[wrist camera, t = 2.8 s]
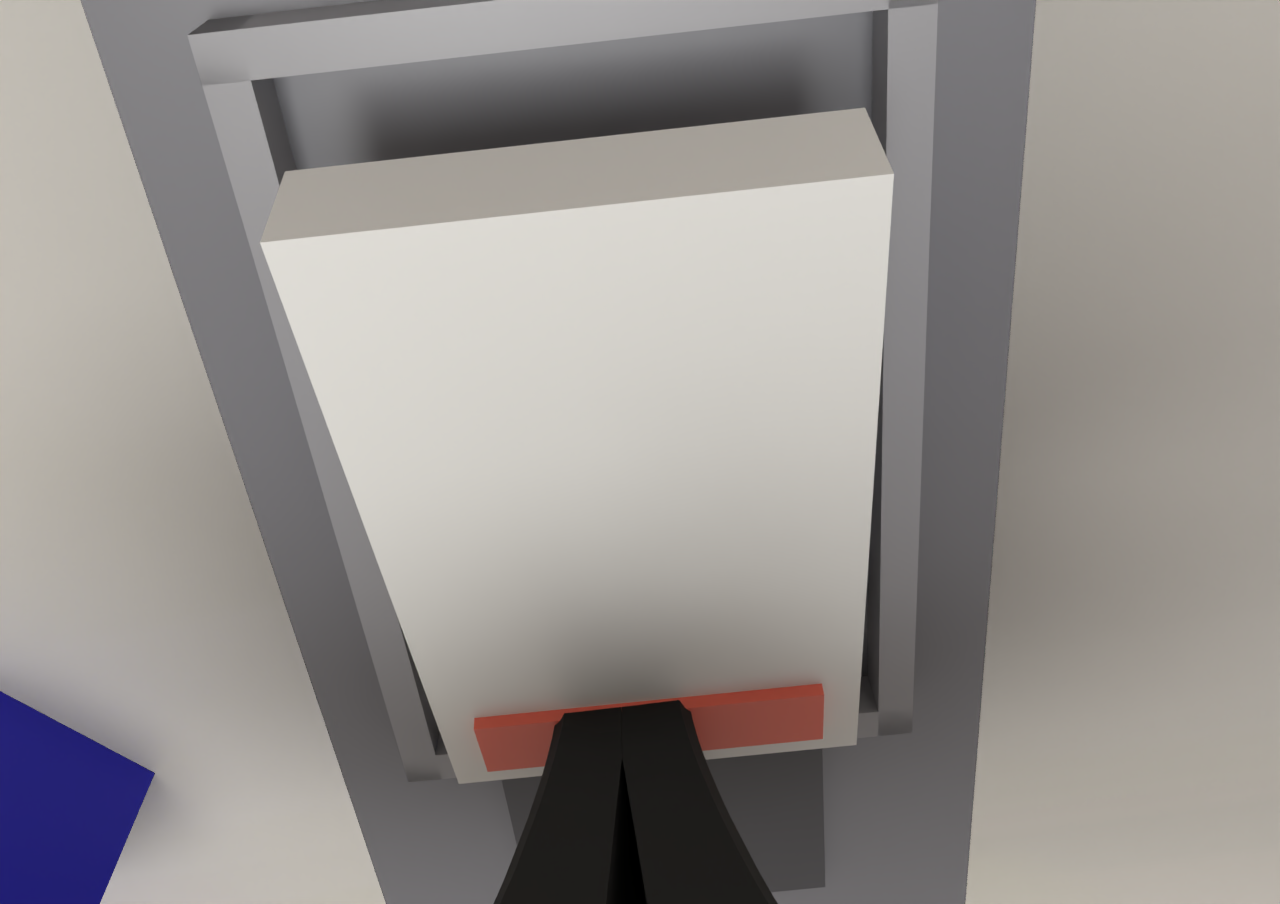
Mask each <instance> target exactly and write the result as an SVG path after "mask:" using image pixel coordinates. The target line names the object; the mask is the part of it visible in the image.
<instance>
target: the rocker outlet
mask: <svg viewBox="0 0 1280 904" xmlns="http://www.w3.org/2000/svg"><path fill="white" fill-rule="evenodd" d="M893 181H894V173H893V170H892V168H891V166H890V163H889V161H888V159H887V157H886V154H885V152H884V150H883V148H882V145H881V143H880V141H879V138H878V136H877V134H876V132H875V129H874V127H873V125H872V122H871V120H870V118H869V116H868V113H867V111H866V109H865V108H856V109H847V110H838V111H829V112H820V113H811V114H802V115H793V116H784V117H775V118H766V119H756V120H747V121H738V122H729V123H720V124H711V125H702V126H693V127H684V128H675V129H666V130H656V131H647V132H638V133H629V134H620V135H611V136H602V137H593V138H584V139H575V140H566V141H556V142H547V143H538V144H529V145H520V146H511V147H502V148H493V149H484V150H475V151H466V152H456V153H447V154H438V155H429V156H420V157H411V158H402V159H393V160H384V161H375V162H365V163H356V164H347V165H338V166H329V167H320V168H311V169H302V170H293V171H285V173H284V175H283V178H282V181H281V184H280V187H279V190H278V192H277V195H276V198H275V201H274V204H273V207H272V210H271V212H270V215H269V218H268V221H267V224H266V227H265V230H264V232H263V235H262V238H261V241H260V244H261V247H262V250H263V252H264V255H265V258H266V261H267V263H268V266H269V269H270V271H271V274H272V277H273V280H274V282H275V285H276V288H277V291H278V293H279V296H280V299H281V301H282V304H283V307H284V310H285V312H286V315H287V318H288V320H289V323H290V326H291V329H292V331H293V334H294V337H295V339H296V342H297V345H298V348H299V350H300V353H301V356H302V359H303V361H304V364H305V367H306V369H307V372H308V375H309V378H310V380H311V383H312V386H313V388H314V391H315V394H316V397H317V399H318V402H319V405H320V407H321V410H322V413H323V416H324V418H325V421H326V424H327V427H328V429H329V432H330V435H331V437H332V440H333V443H334V446H335V448H336V451H337V454H338V456H339V459H340V462H341V465H342V467H343V470H344V473H345V476H346V478H347V481H348V484H349V486H350V489H351V492H352V495H353V497H354V500H355V503H356V505H357V508H358V511H359V514H360V516H361V519H362V522H363V524H364V527H365V530H366V533H367V535H368V538H369V541H370V544H371V546H372V549H373V552H374V554H375V557H376V560H377V563H378V565H379V568H380V571H381V573H382V576H383V579H384V582H385V584H386V587H387V590H388V592H389V595H390V598H391V601H392V603H393V606H394V609H395V612H396V614H397V617H398V620H399V622H400V625H401V628H402V631H403V633H404V636H405V639H406V641H407V644H408V647H409V650H410V652H411V655H412V658H413V661H414V663H415V666H416V669H417V671H418V674H419V677H420V680H421V682H422V685H423V688H424V690H425V693H426V696H427V699H428V701H429V704H430V707H431V709H432V712H433V715H434V718H435V720H436V723H437V726H438V729H439V731H440V734H441V737H442V739H443V742H444V745H445V748H446V750H447V753H448V756H449V758H450V761H451V764H452V767H453V769H454V772H455V775H456V778H457V780H458V783H459V784H464V783H474V782H484V781H495V780H505V779H515V778H525V777H535V776H542V774H543V770H544V767H545V763H546V760H547V756H548V752H549V748H550V744H551V740H552V736H553V731H554V726H555V725H556V724H557V723H558V722H559V721H560V720H561V718H562V716H563V715H564V713H572V712H581V711H589V710H598V709H607V708H616V707H621V709H622V707H625V706H633V705H642V704H649V703H657V702H665V701H674V700H680V702H681V703H682V704H683V706H684V707H685V708H686V709H688V710H689V711H691V714H692V718H693V722H694V726H695V730H696V733H697V737H698V740H699V743H700V746H701V749H702V751H703V754H704V757H705V759H706V760H708V759H719V758H729V757H739V756H749V755H759V754H770V753H780V752H790V751H800V750H810V749H820V748H831V747H841V746H851V745H856V744H857V729H858V714H859V699H860V684H861V668H862V653H863V638H864V623H865V607H866V592H867V577H868V562H869V546H870V531H871V516H872V501H873V486H874V470H875V455H876V440H877V425H878V409H879V394H880V379H881V364H882V349H883V333H884V318H885V303H886V288H887V272H888V257H889V242H890V227H891V211H892V196H893Z"/></svg>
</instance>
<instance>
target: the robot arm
mask: <svg viewBox="0 0 1280 904" xmlns="http://www.w3.org/2000/svg"><path fill="white" fill-rule="evenodd" d="M493 904H778V903H777V901H776V900H775V898H774V896H773V895H772V893H771V891H770V890H769V888H768V886H767V884H766V883H765V881H764V879H763V877H762V876H761V874H760V872H759V870H758V868H757V867H756V865H755V863H754V861H753V859H752V857H751V855H750V853H749V851H748V850H747V848H746V846H745V844H744V842H743V840H742V838H741V836H740V834H739V832H738V830H737V828H736V826H735V824H734V823H733V821H732V819H731V817H730V815H729V812H728V810H727V808H726V806H725V804H724V802H723V800H722V798H721V795H720V793H719V791H718V788H717V786H716V784H715V781H714V779H713V777H712V774H711V772H710V770H709V767H708V765H707V762H706V759H705V757H704V754H703V751H702V749H701V746H700V743H699V740H698V737H697V733H696V730H695V726H694V722H693V718H692V714H691V711H689V710H688V709H686V708H685V707H684V706H683V704H682V703H681V702H680V700H674V701H665V702H657V703H649V704H642V705H633V706H625V707H622V709H621V707H616V708H607V709H598V710H589V711H581V712H572V713H564V715H563V716H562V718H561V720H560V721H559V722H558V723H557V724H556V725H555V726H554V731H553V736H552V740H551V744H550V748H549V752H548V756H547V760H546V763H545V767H544V770H543V774H542V777H541V780H540V784H539V787H538V790H537V793H536V796H535V799H534V802H533V805H532V807H531V810H530V813H529V816H528V819H527V822H526V824H525V827H524V830H523V832H522V835H521V837H520V840H519V842H518V845H517V848H516V850H515V853H514V855H513V858H512V860H511V863H510V866H509V868H508V871H507V873H506V876H505V878H504V881H503V883H502V885H501V888H500V890H499V892H498V895H497V897H496V899H495V901H494V903H493Z"/></svg>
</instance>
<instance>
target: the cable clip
mask: <svg viewBox="0 0 1280 904" xmlns="http://www.w3.org/2000/svg"><path fill="white" fill-rule="evenodd" d="M154 774H155V773H154V772H152V771H150V770H148V769H146V768H144V767H142V766H140V765H139V764H137V763H135V762H133V761H131V760H129V759H127V758H125V757H123V756H122V755H120V754H118V753H116V752H114V751H112V750H110V749H108V748H106V747H105V746H103V745H101V744H99V743H97V742H95V741H93V740H91V739H89V738H88V737H86V736H84V735H82V734H80V733H78V732H76V731H74V730H72V729H71V728H69V727H67V726H65V725H63V724H61V723H59V722H57V721H55V720H54V719H52V718H50V717H48V716H46V715H44V714H42V713H40V712H38V711H36V710H35V709H33V708H31V707H29V706H27V705H25V704H23V703H21V702H19V701H18V700H16V699H14V698H12V697H10V696H8V695H6V694H4V693H2V692H1V691H0V904H100V902H101V899H102V897H103V895H104V892H105V890H106V887H107V885H108V883H109V880H110V878H111V876H112V873H113V871H114V869H115V866H116V864H117V861H118V859H119V857H120V854H121V852H122V850H123V847H124V845H125V842H126V840H127V838H128V835H129V833H130V831H131V828H132V826H133V823H134V821H135V819H136V816H137V814H138V812H139V809H140V807H141V805H142V802H143V800H144V797H145V795H146V793H147V790H148V788H149V786H150V783H151V781H152V778H153V776H154Z"/></svg>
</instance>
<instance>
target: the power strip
mask: <svg viewBox="0 0 1280 904" xmlns="http://www.w3.org/2000/svg"><path fill="white" fill-rule="evenodd" d="M81 3H82V6H83V9H84V12H85V15H86V18H87V21H88V24H89V27H90V30H91V33H92V36H93V38H94V41H95V44H96V47H97V50H98V53H99V56H100V59H101V62H102V65H103V68H104V71H105V74H106V77H107V80H108V83H109V86H110V89H111V92H112V95H113V98H114V101H115V104H116V106H117V109H118V112H119V115H120V118H121V121H122V124H123V127H124V130H125V133H126V136H127V139H128V142H129V145H130V148H131V151H132V154H133V157H134V160H135V163H136V166H137V169H138V172H139V174H140V177H141V180H142V183H143V186H144V189H145V192H146V195H147V198H148V201H149V204H150V207H151V210H152V213H153V216H154V219H155V222H156V225H157V228H158V231H159V234H160V237H161V240H162V242H163V245H164V248H165V251H166V254H167V257H168V260H169V263H170V266H171V269H172V272H173V275H174V278H175V281H176V284H177V287H178V290H179V293H180V296H181V299H182V302H183V305H184V308H185V310H186V313H187V316H188V319H189V322H190V325H191V328H192V331H193V334H194V337H195V340H196V343H197V346H198V349H199V352H200V355H201V358H202V361H203V364H204V367H205V370H206V373H207V376H208V378H209V381H210V384H211V387H212V390H213V393H214V396H215V399H216V402H217V405H218V408H219V411H220V414H221V417H222V420H223V423H224V426H225V429H226V432H227V435H228V438H229V441H230V444H231V446H232V449H233V452H234V455H235V458H236V461H237V464H238V467H239V470H240V473H241V476H242V479H243V482H244V485H245V488H246V491H247V494H248V497H249V500H250V503H251V506H252V509H253V512H254V514H255V517H256V520H257V523H258V526H259V529H260V532H261V535H262V538H263V541H264V544H265V547H266V550H267V553H268V556H269V559H270V562H271V565H272V568H273V571H274V574H275V577H276V580H277V582H278V585H279V588H280V591H281V594H282V597H283V600H284V603H285V606H286V609H287V612H288V615H289V618H290V621H291V624H292V627H293V630H294V633H295V636H296V639H297V642H298V645H299V648H300V650H301V653H302V656H303V659H304V662H305V665H306V668H307V671H308V674H309V677H310V680H311V683H312V686H313V689H314V692H315V695H316V698H317V701H318V704H319V707H320V710H321V713H322V716H323V718H324V721H325V724H326V727H327V730H328V733H329V736H330V739H331V742H332V745H333V748H334V751H335V754H336V757H337V760H338V763H339V766H340V769H341V772H342V775H343V778H344V781H345V784H346V786H347V789H348V792H349V795H350V798H351V801H352V804H353V807H354V810H355V813H356V816H357V819H358V822H359V825H360V828H361V831H362V834H363V837H364V840H365V843H366V846H367V849H368V852H369V854H370V857H371V860H372V863H373V866H374V869H375V872H376V875H377V878H378V881H379V884H380V887H381V890H382V893H383V896H384V899H385V902H386V904H493V903H494V901H495V899H496V897H497V895H498V892H499V890H500V888H501V885H502V883H503V881H504V878H505V876H506V873H507V871H508V868H509V866H510V863H511V860H512V858H513V855H514V853H515V850H516V848H517V845H518V842H519V840H520V837H521V835H522V832H523V830H524V827H525V824H526V822H527V819H528V816H529V813H530V810H531V807H532V805H533V802H534V799H535V796H536V793H537V790H538V787H539V784H540V780H541V777H542V776H535V777H525V778H515V779H505V780H495V781H484V782H474V783H464V784H459V783H458V780H457V778H456V775H455V772H454V769H453V767H452V764H451V761H450V758H449V756H448V753H447V750H446V748H445V745H444V742H443V739H442V737H441V734H440V731H439V729H438V726H437V723H436V720H435V718H434V715H433V712H432V709H431V707H430V704H429V701H428V699H427V696H426V693H425V690H424V688H423V685H422V682H421V680H420V677H419V674H418V671H417V669H416V666H415V663H414V661H413V658H412V655H411V652H410V650H409V647H408V644H407V641H406V639H405V636H404V633H403V631H402V628H401V625H400V622H399V620H398V617H397V614H396V612H395V609H394V606H393V603H392V601H391V598H390V595H389V592H388V590H387V587H386V584H385V582H384V579H383V576H382V573H381V571H380V568H379V565H378V563H377V560H376V557H375V554H374V552H373V549H372V546H371V544H370V541H369V538H368V535H367V533H366V530H365V527H364V524H363V522H362V519H361V516H360V514H359V511H358V508H357V505H356V503H355V500H354V497H353V495H352V492H351V489H350V486H349V484H348V481H347V478H346V476H345V473H344V470H343V467H342V465H341V462H340V459H339V456H338V454H337V451H336V448H335V446H334V443H333V440H332V437H331V435H330V432H329V429H328V427H327V424H326V421H325V418H324V416H323V413H322V410H321V407H320V405H319V402H318V399H317V397H316V394H315V391H314V388H313V386H312V383H311V380H310V378H309V375H308V372H307V369H306V367H305V364H304V361H303V359H302V356H301V353H300V350H299V348H298V345H297V342H296V339H295V337H294V334H293V331H292V329H291V326H290V323H289V320H288V318H287V315H286V312H285V310H284V307H283V304H282V301H281V299H280V296H279V293H278V291H277V288H276V285H275V282H274V280H273V277H272V274H271V271H270V269H269V266H268V263H267V261H266V258H265V255H264V252H263V250H262V247H261V244H260V241H261V238H262V235H263V232H264V230H265V227H266V224H267V221H268V218H269V215H270V212H271V210H272V207H273V204H274V201H275V198H276V195H277V192H278V190H279V187H280V184H281V181H282V178H283V175H284V173H285V171H293V170H302V169H311V168H320V167H329V166H338V165H347V164H356V163H365V162H375V161H384V160H393V159H402V158H411V157H420V156H429V155H438V154H447V153H456V152H466V151H475V150H484V149H493V148H502V147H511V146H520V145H529V144H538V143H547V142H556V141H566V140H575V139H584V138H593V137H602V136H611V135H620V134H629V133H638V132H647V131H656V130H666V129H675V128H684V127H693V126H702V125H711V124H720V123H729V122H738V121H747V120H756V119H766V118H775V117H784V116H793V115H802V114H811V113H820V112H829V111H838V110H847V109H856V108H865V109H866V111H867V113H868V116H869V118H870V120H871V122H872V125H873V127H874V129H875V132H876V134H877V136H878V138H879V141H880V143H881V145H882V148H883V150H884V152H885V154H886V157H887V159H888V161H889V163H890V166H891V168H892V170H893V173H894V181H893V196H892V211H891V227H890V242H889V257H888V272H887V288H886V303H885V318H884V333H883V349H882V364H881V379H880V394H879V409H878V425H877V440H876V455H875V470H874V486H873V501H872V516H871V531H870V546H869V562H868V577H867V592H866V607H865V623H864V638H863V653H862V668H861V684H860V699H859V714H858V729H857V744H856V745H851V746H841V747H831V748H820V749H810V750H800V751H790V752H780V753H770V754H759V755H749V756H739V757H729V758H719V759H708V760H706V762H707V765H708V767H709V770H710V772H711V774H712V777H713V779H714V781H715V784H716V786H717V788H718V791H719V793H720V795H721V798H722V800H723V802H724V804H725V806H726V808H727V810H728V812H729V815H730V817H731V819H732V821H733V823H734V824H735V826H736V828H737V830H738V832H739V834H740V836H741V838H742V840H743V842H744V844H745V846H746V848H747V850H748V851H749V853H750V855H751V857H752V859H753V861H754V863H755V865H756V867H757V868H758V870H759V872H760V874H761V876H762V877H763V879H764V881H765V883H766V884H767V886H768V888H769V890H770V891H771V893H772V895H773V896H774V898H775V900H776V901H777V903H778V904H965V900H966V887H967V874H968V862H969V849H970V836H971V823H972V811H973V798H974V785H975V772H976V760H977V747H978V734H979V721H980V709H981V696H982V683H983V670H984V658H985V645H986V632H987V619H988V607H989V594H990V581H991V568H992V556H993V543H994V530H995V517H996V505H997V492H998V479H999V466H1000V454H1001V441H1002V428H1003V415H1004V403H1005V390H1006V377H1007V364H1008V352H1009V339H1010V326H1011V313H1012V301H1013V288H1014V275H1015V262H1016V250H1017V237H1018V224H1019V211H1020V199H1021V186H1022V173H1023V160H1024V148H1025V135H1026V122H1027V109H1028V97H1029V84H1030V71H1031V58H1032V46H1033V33H1034V20H1035V7H1036V0H81Z"/></svg>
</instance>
